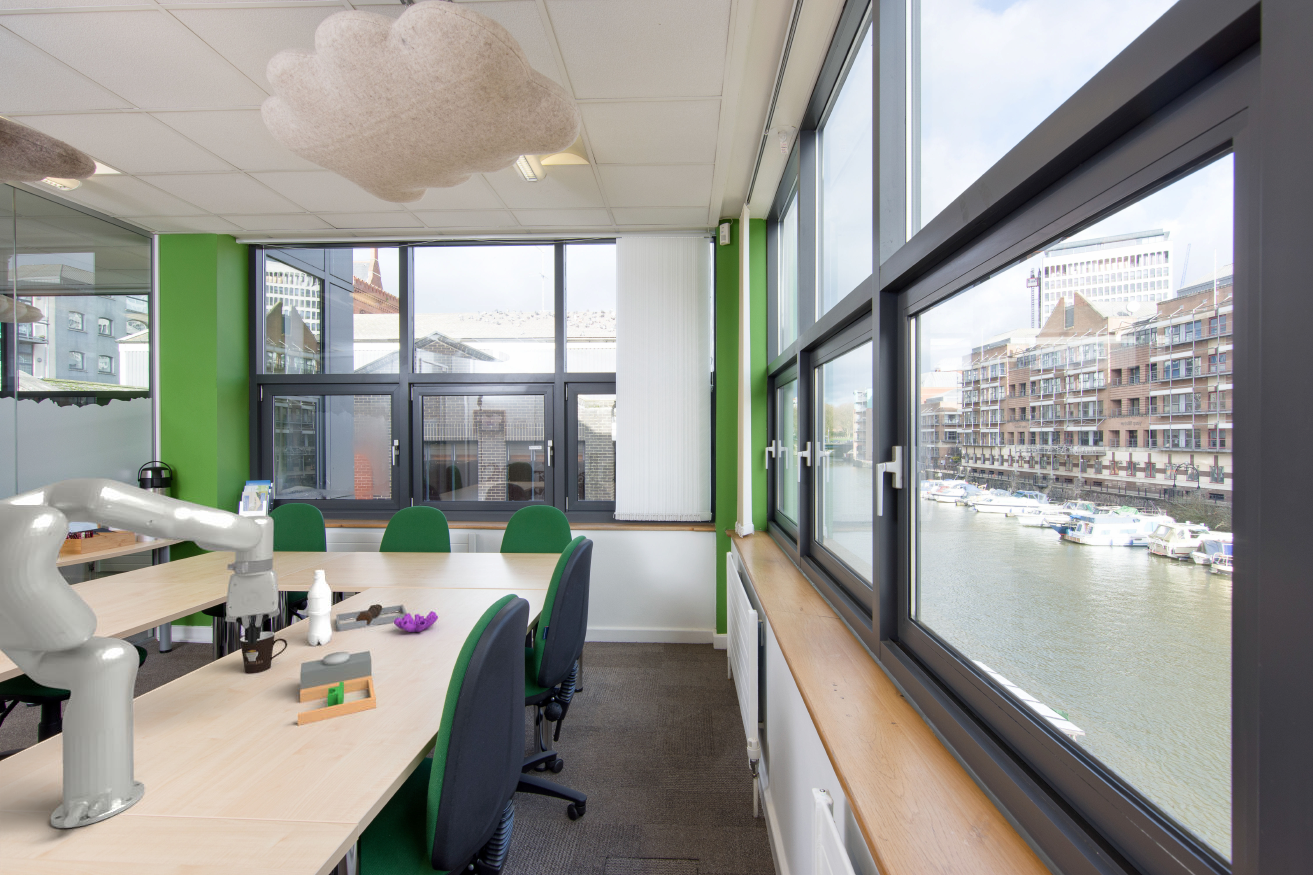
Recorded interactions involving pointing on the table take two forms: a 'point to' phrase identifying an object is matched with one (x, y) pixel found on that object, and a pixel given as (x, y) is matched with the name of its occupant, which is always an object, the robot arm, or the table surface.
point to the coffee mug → (259, 653)
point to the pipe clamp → (335, 695)
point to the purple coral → (416, 622)
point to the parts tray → (364, 623)
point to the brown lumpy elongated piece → (370, 613)
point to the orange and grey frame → (336, 684)
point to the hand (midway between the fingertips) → (252, 642)
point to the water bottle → (319, 610)
